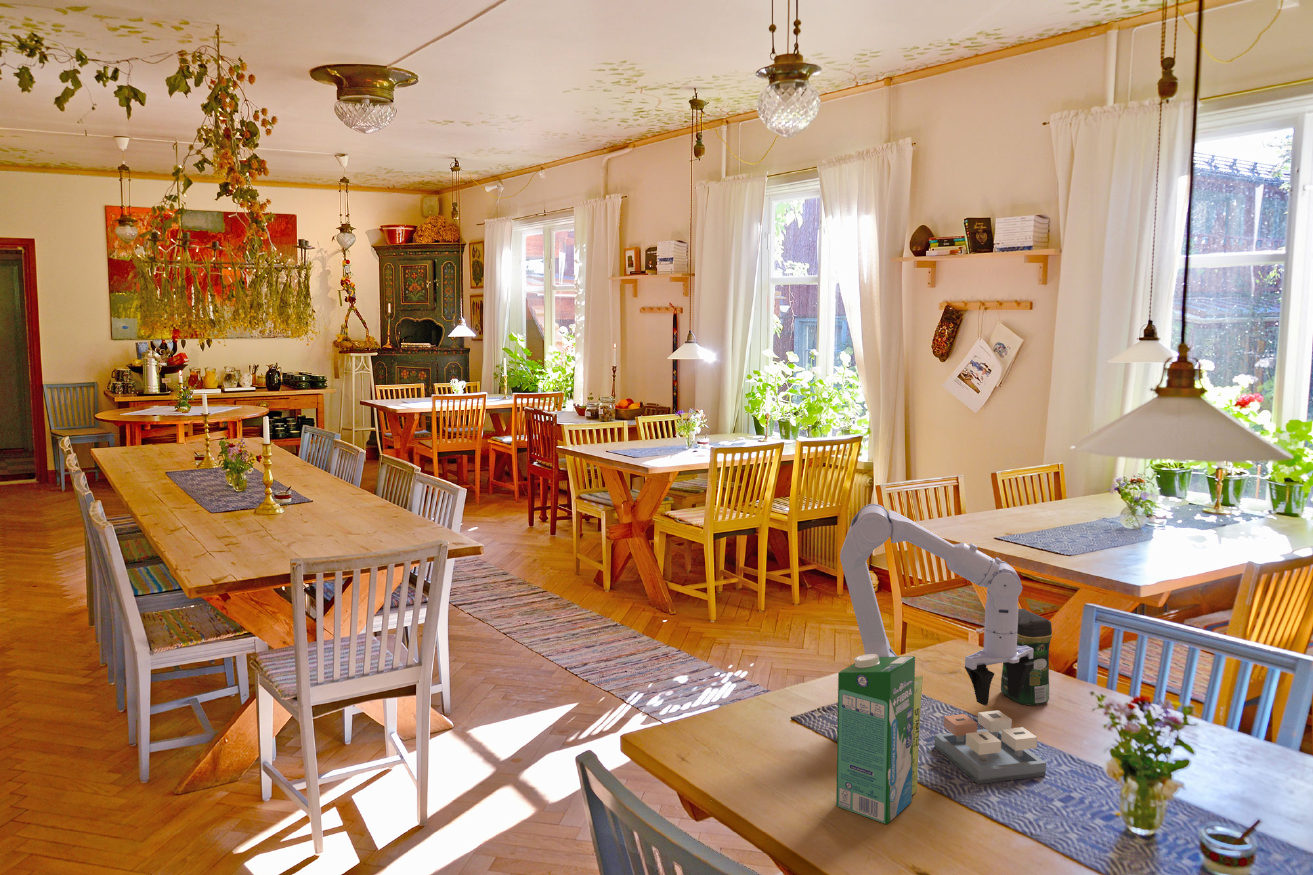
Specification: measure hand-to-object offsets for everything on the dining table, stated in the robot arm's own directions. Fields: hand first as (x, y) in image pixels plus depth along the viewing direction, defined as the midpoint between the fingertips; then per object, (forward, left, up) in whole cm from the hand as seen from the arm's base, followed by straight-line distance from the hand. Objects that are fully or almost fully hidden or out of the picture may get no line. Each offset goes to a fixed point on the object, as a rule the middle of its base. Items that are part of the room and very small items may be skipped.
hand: (998, 700), depth 170 cm
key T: (-2, -9, -6) cm, 11 cm away
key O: (-2, -2, -6) cm, 7 cm away
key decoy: (-9, -2, -6) cm, 11 cm away
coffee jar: (+18, +18, -9) cm, 27 cm away
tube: (-25, -12, -9) cm, 29 cm away
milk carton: (-32, -15, -9) cm, 36 cm away
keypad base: (-5, -6, -9) cm, 12 cm away
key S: (-9, -9, -6) cm, 14 cm away
